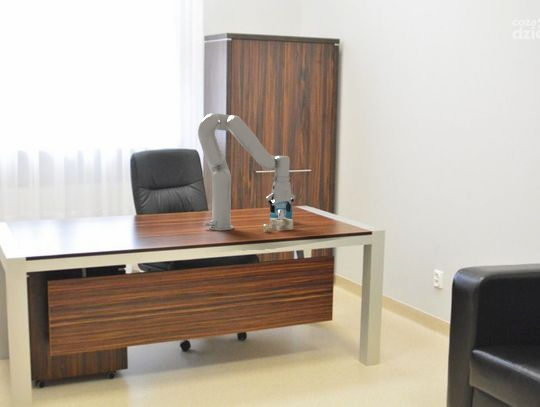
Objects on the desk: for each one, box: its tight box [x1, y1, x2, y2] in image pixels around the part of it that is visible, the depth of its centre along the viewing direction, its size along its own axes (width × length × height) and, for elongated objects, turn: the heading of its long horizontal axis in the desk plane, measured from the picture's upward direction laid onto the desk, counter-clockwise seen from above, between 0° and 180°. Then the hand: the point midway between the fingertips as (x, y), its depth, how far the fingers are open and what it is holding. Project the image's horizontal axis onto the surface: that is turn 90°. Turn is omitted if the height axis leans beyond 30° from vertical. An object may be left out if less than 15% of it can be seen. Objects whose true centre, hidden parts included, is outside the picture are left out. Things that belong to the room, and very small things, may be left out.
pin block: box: [269, 217, 294, 232], centre depth 378 cm, size 9×9×5 cm
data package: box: [269, 202, 293, 220], centre depth 395 cm, size 12×4×12 cm, turn 126°
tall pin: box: [278, 209, 284, 220], centre depth 378 cm, size 3×3×10 cm
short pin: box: [262, 223, 271, 234], centre depth 369 cm, size 3×3×4 cm
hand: (280, 212), depth 377 cm, fingers open, 9 cm apart
